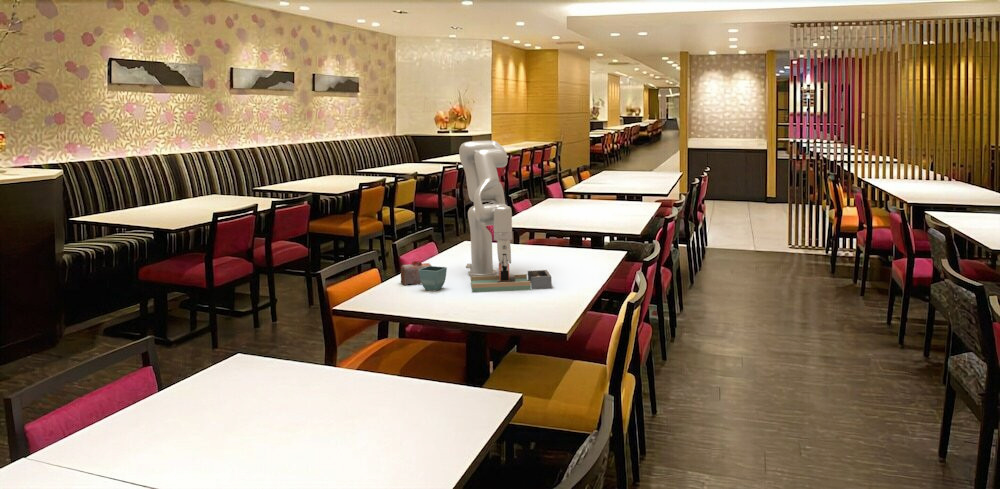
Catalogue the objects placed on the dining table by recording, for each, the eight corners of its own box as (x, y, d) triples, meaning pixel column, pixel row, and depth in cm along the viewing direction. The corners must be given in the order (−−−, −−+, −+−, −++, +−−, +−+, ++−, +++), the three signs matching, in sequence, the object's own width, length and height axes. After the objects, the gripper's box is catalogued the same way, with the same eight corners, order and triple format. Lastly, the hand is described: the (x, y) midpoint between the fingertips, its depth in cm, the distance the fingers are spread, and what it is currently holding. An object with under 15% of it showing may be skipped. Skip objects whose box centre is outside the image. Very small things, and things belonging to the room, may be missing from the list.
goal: (531, 289, 311) (531, 277, 311) (528, 282, 325) (527, 270, 324) (551, 288, 312) (551, 276, 311) (546, 281, 325) (546, 269, 324)
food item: (429, 279, 335) (428, 257, 334) (435, 283, 328) (434, 260, 327) (399, 283, 330) (398, 261, 328) (405, 286, 323) (404, 264, 321)
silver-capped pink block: (497, 283, 314) (497, 264, 313) (496, 281, 319) (496, 262, 317) (515, 283, 315) (514, 264, 314) (514, 280, 319) (513, 262, 318)
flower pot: (448, 287, 318) (447, 266, 317) (437, 292, 310) (436, 271, 309) (429, 286, 322) (429, 265, 320) (419, 290, 314) (418, 269, 313)
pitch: (472, 292, 309) (472, 284, 308) (470, 284, 324) (470, 276, 323) (530, 289, 311) (530, 281, 310) (526, 281, 325) (526, 274, 325)
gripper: (514, 238, 306) (515, 283, 309) (510, 232, 322) (511, 274, 325) (495, 239, 305) (496, 283, 308) (492, 233, 321) (493, 275, 325)
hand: (504, 278), depth 317 cm, fingers closed on silver-capped pink block, 4 cm apart
